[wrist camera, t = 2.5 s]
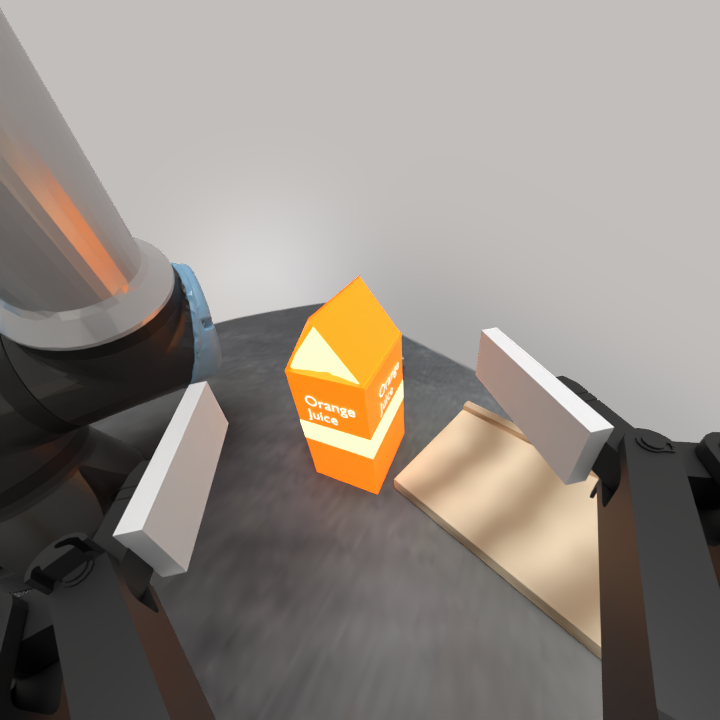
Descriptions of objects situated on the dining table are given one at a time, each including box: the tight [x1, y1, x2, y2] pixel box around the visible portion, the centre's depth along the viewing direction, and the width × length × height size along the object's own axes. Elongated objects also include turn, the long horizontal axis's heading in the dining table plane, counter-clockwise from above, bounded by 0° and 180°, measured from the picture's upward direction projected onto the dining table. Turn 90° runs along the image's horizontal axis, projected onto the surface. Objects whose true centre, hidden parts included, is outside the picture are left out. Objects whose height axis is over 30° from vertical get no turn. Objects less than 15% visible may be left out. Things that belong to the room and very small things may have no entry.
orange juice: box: [285, 276, 404, 494], centre depth 30 cm, size 8×9×20 cm
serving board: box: [394, 401, 602, 660], centre depth 28 cm, size 20×14×2 cm
